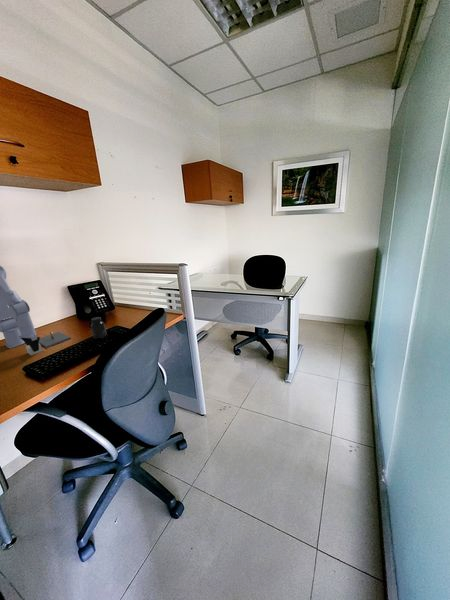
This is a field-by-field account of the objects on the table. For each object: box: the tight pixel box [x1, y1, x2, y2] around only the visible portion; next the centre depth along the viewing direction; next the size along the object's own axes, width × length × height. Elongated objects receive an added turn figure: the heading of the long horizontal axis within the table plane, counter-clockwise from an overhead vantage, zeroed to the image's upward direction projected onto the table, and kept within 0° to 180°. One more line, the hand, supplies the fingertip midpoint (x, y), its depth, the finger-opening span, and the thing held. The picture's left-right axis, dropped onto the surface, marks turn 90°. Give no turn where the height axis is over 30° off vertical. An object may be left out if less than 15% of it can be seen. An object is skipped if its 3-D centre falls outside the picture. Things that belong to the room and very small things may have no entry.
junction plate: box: [39, 331, 71, 349], centre depth 135 cm, size 16×12×5 cm
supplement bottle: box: [90, 316, 108, 339], centre depth 132 cm, size 7×7×12 cm
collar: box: [25, 344, 44, 356], centre depth 123 cm, size 5×5×4 cm
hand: (34, 349), depth 123 cm, fingers open, 5 cm apart
